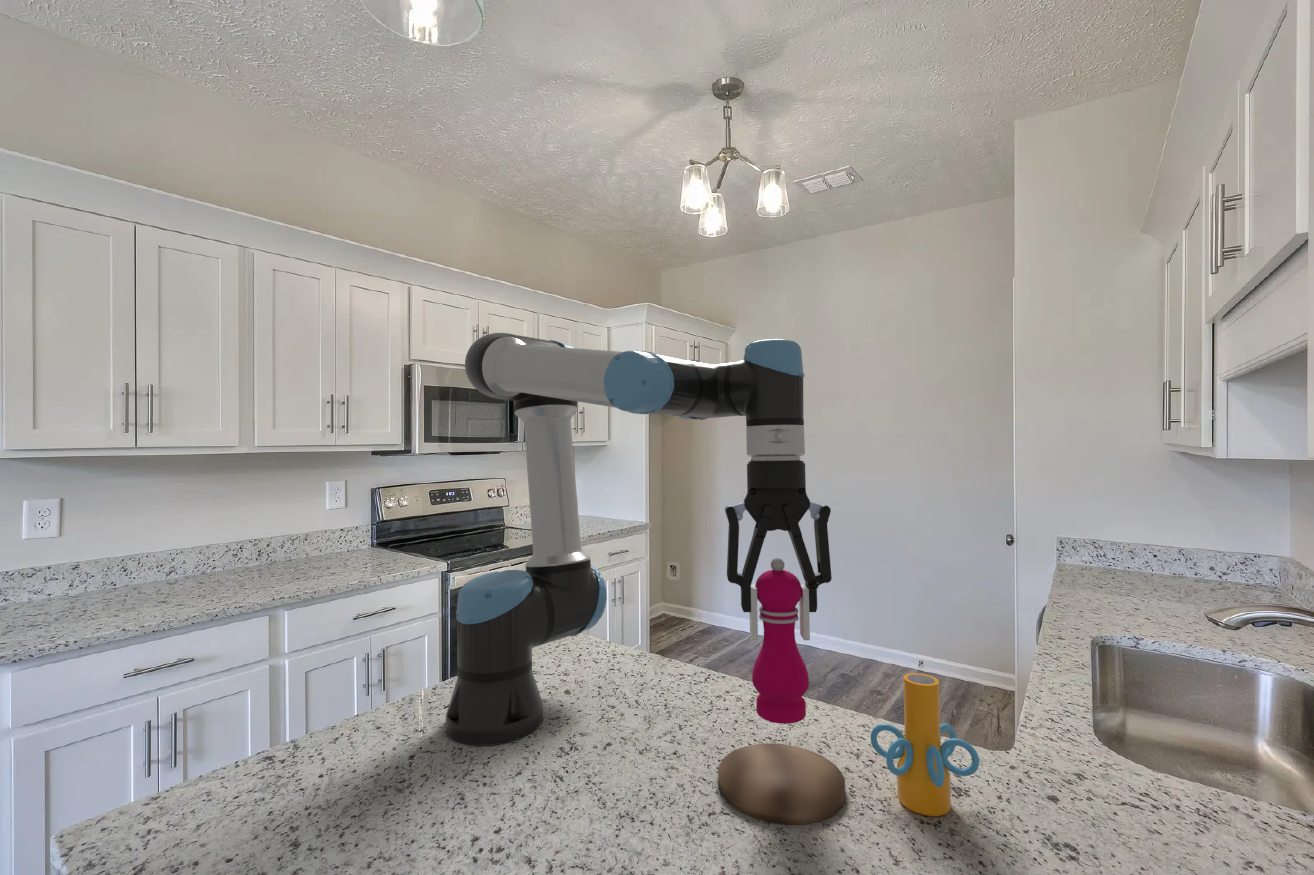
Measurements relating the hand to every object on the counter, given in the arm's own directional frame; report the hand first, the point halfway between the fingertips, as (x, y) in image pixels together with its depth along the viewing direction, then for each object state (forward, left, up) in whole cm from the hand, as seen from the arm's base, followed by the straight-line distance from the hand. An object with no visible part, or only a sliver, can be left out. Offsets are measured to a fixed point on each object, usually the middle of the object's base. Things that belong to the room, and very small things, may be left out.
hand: (779, 636), depth 76 cm
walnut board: (0, 0, -19) cm, 19 cm away
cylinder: (+17, -3, -19) cm, 26 cm away
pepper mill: (0, 0, -10) cm, 10 cm away
